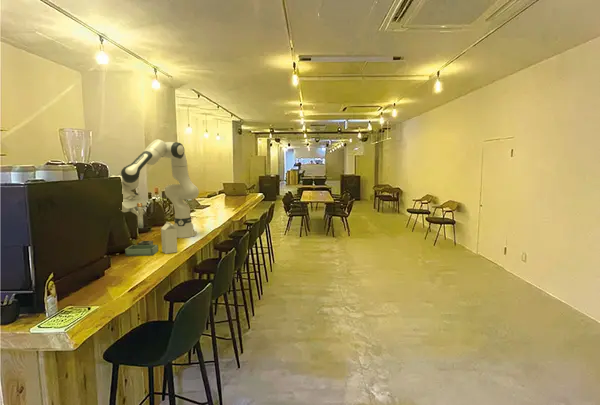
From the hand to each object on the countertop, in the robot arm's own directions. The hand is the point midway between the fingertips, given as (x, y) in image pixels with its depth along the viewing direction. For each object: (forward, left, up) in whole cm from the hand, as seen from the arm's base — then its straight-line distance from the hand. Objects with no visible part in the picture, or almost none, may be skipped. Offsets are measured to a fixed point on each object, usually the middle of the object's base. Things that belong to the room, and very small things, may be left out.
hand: (141, 214), depth 224 cm
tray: (0, -1, -25) cm, 25 cm away
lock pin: (0, -1, -8) cm, 8 cm away
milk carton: (-3, +15, -25) cm, 29 cm away
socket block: (-10, -2, -25) cm, 26 cm away
